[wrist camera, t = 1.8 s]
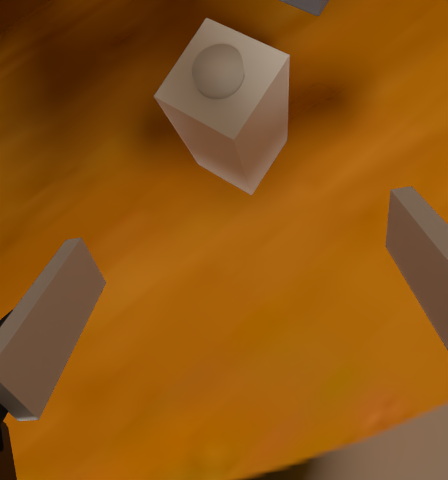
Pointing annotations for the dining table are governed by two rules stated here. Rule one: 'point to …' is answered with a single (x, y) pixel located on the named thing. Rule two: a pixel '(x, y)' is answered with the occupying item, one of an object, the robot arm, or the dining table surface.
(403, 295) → the dining table surface
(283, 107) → the tower brick
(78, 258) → the robot arm
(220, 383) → the dining table surface
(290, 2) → the base plate
